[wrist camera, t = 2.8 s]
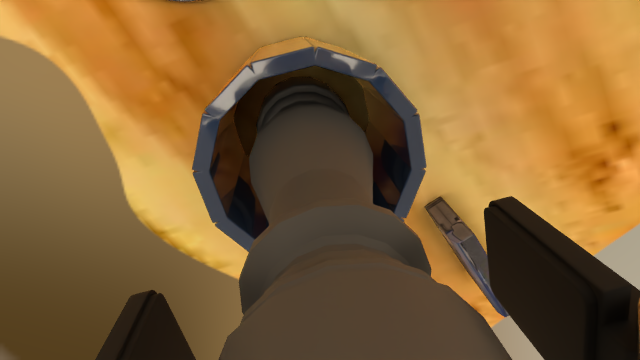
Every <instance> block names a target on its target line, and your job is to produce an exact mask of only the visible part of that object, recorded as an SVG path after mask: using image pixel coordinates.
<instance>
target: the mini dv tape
mask: <svg viewBox="0 0 640 360" xmlns="http://www.w3.org/2000/svg"><path fill="white" fill-rule="evenodd" d="M425 208H426V210H427V211H428V213H429V214H430V216H431V217H432V219H433V220H434V222H435V223H436V225H437V226H438V228H439V229H440V231H441V232H442V234H443V235H444V237H445V239H446V240H447V242H448V243H449V245H450V246H451V248H452V249H453V251H454V252H455V254H456V255H457V257H458V258H459V260H460V261H461V263H462V264H463V266H464V267H465V269H466V270H467V272H468V273H469V275H470V276H471V277H472V279H473V280H474V281H475V283H476V284H477V285H478V287H479V288H480V289H481V291H482V292H483V293H484V295H485V296H486V298H487V299H488V300H489V302H490V303H491V304H492V306H493V307H494V308H495V310H496V311H497V312H498V313H500V314H501V315H502V316H504V317H507V316H509V314H508V313H507V311H506V310H505V309H504V308H503V306H502V305H501V304H500V303H499V301H498V300H497V299H496V297H495V296H494V294H493V292H492V290H491V287H490V281H489V268H488V256H487V254H486V252H485V251H484V249H483V248H482V246H481V244H480V243H479V241H478V239H477V238H476V236H475V235H474V233H473V232H472V231H471V230H470V229H469V228H468V227H467V225H466V224H465V223H464V222H463V221H462V220H461V219H460V218H459V216H458V215H457V214H456V213H455V212H454V211H453V210H452V209H451V207H450V206H449V205H448V204H447V203H446V202H445V201H444V200H443V199H442V197H439V198H438V199H436V200H434V201H433V202H431V203H430V204H428V205H427V206H425Z"/></svg>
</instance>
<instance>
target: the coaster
mask: <svg viewBox="0 0 640 360" xmlns="http://www.w3.org/2000/svg"><path fill="white" fill-rule="evenodd" d="M168 1H174V2H197V1H202V0H168Z"/></svg>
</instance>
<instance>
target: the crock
mask: <svg viewBox="0 0 640 360" xmlns="http://www.w3.org/2000/svg"><path fill="white" fill-rule="evenodd" d="M311 66H318V67H321V68H325V69H328V70H332V71H335V72H338V73H342V74H345V75H348V76H352V77H354V78H355V79H356V80H357V81H358V82H359V83H360V84H361V86H362V87H363V92H364V97H365V102H366V107H367V112H368V118H369V122H368V125H367V128H366V131H365V135H366V137H367V140H368V143H369V145H370V148H371V150H372V153H373V204H374V205H377V206H380V207H383V208H386V209H389V210H391V211H392V212H393V213H394V214H395V215H396V216H397V217H398V218H399V219H401V220H402V221H403V222H404V219H403V218H406V217H407V215H408V213H409V210H410V208H411V206H412V203H413V201H414V198H415V196H416V194H417V191H418V189H419V186H420V184H421V182H422V179H423V177H424V174H425V172H426V170H425V169H424V168H426V159H425V152H424V144H423V137H422V130H421V122H420V115H419V114H418V113H416V112H417V109H416V108H415V107H414V105H413V104H412V103H411V102H410V101H409V100H408V98H407V97H406V96H405V95H404V94H403V92H402V91H401V90H400V89H399V88H398V87H397V85H396V84H395V83H394V82H393V81H392V80H391V78H390V77H389V76H388V75H387V74H386V73H385V71H384V70H383V69H382V68H381V67H379V66H377V65H376V64H375V63H373V62H371V61H369V60H366V59H364V58H362V57H360V56H358V55H356V54H354V53H352V52H350V51H348V50H346V49H344V48H341V47H337V46H334V45H331V44H328V43H325V42H321V41H318V40H315V39H312V38H308V37H304V38H303V37H297V38H293V39H289V40H285V41H281V42H278V43H274V44H270V45H266V46H262V47H261V48H260V49H258V50H257V51H256V52H255V53H254V54H253V55H252V56H251V57H250V58H249V59H248V60H247V61H246V62H245V63H244V65H243V66H242V67H241V68H240V69H239V70H238V71H237V72H236V73H235V74H234V75H233V76H232V77H231V78H230V80H229V81H228V82H227V83H226V84H225V86H224V87H223V88H222V89H221V90H220V92H219V93H218V94H217V95H216V96H215V97H214V99H213V100H212V101H211V102H210V103H209V105H208V106H207V107H206V108H205V111H204V112H203V114H202V118H201V123H200V129H199V134H198V140H197V145H196V150H195V156H194V161H193V167H192V170H194V172H193V176H194V178H195V181H196V183H197V186H198V188H199V191H200V193H201V196H202V198H203V200H204V203H205V205H206V208H207V210H208V213H209V215H210V218H211V220H212V222H213V223H215V222H216V224H215V226H216V227H217V228H219V229H220V230H221V231H222V232H224V233H225V234H226V235H228V236H229V237H230V238H231V239H233V240H234V241H235V242H237V243H238V244H239V245H240V246H242V247H243V248H244V249H246V250H247V251H248V252H249V251H250V248H251V246H252V243H253V241H254V240H255V239H256V238H257V237H258V236H259V235H260V234H261V233H262V232H263V231H264V230H265V229H266V228H267V227H268V226H269V222H268V220H267V218H266V215H265V213H264V211H263V208H262V206H261V204H260V201H259V199H258V197H257V195H256V192H255V190H254V188H253V186H252V184H251V177H250V165H249V157H248V156H247V155H246V154H245V153H244V150H243V147H242V144H241V141H240V138H239V135H238V132H237V129H236V126H235V123H234V115H235V111H236V106H237V102H238V101H239V100H240V99H241V98H242V97H243V96H244V95H245V94H246V93H247V92H248V91H249V90H250V89H251V88H252V87H253V86H254V85H255V84H256V82H257V81H258V80H261V79H265V78H269V77H273V76H277V75H280V74H284V73H288V72H292V71H296V70H300V69H303V68H307V67H311Z"/></svg>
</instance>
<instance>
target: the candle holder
mask: <svg viewBox="0 0 640 360" xmlns="http://www.w3.org/2000/svg"><path fill="white" fill-rule="evenodd" d="M256 126H257V137H256V139H255V142H254V145H253V148H252V151H251V154H250V157H249V165H250V177H251V184H252V186H253V188H254V190H255V192H256V195H257V197H258V199H259V201H260V204H261V206H262V208H263V211H264V213H265V215H266V218H267V220H268V222H269V226H268V227H267V228H266V229H265V230H264V231H263V232H262V233H261V234H260V235H259V236H258V237H257V238H256V239H255V240H254V241H253V243H252V246H251V248H250V251H249V254H248V256H247V259H246V261H245V264H244V267H243V269H242V272H241V274H240V278H239V286H240V296H241V305H242V313H243V314H244V316H243V319H242V321H241V324H240V326H239V327H238V328H237V329H235V330H234V331H233V332H232V333H231V334H230V335H229V336H228V337H227V340H226V342H225V345H224V348H223V350H222V353H221V355H220V357H219V360H512V359H511V357H510V356H509V354H508V353H507V351H506V350H505V348H504V347H503V345H502V344H501V342H500V341H499V339H498V338H497V336H496V335H495V333H494V332H493V330H492V329H491V327H490V326H489V324H488V323H487V322H486V320H485V319H484V317H483V316H482V315H481V314H479V313H478V312H477V311H476V310H475V309H474V308H473V307H471V306H470V305H469V304H468V303H467V302H466V301H465V300H463V299H462V298H461V297H460V296H459V295H458V294H457V293H456V292H454V291H453V290H452V289H451V288H450V287H449V286H447V285H443V284H440V283H437V282H436V281H435V280H434V279H432V278H431V267H430V264H429V261H428V259H427V256H426V253H425V251H424V248H423V245H422V243H421V240H420V238H419V237H418V235H417V234H416V233H415V232H414V231H413V230H411V229H410V228H409V227H408V226H407V225H406V224H405V223H404V222H403V221H402V220H401V219H399V218H398V217H397V216H396V215H395V214H394V213H393V212H392V211H391V210H389V209H386V208H383V207H380V206H377V205H374V204H373V153H372V150H371V148H370V145H369V143H368V140H367V137H366V135H365V133H364V131H363V130H362V129H361V128H360V127H359V126H358V125H357V124H356V123H355V122H354V121H353V120H352V119H351V118H350V116H349V113H348V111H347V108H346V106H345V104H344V103H343V101H342V100H341V99H340V97H339V96H338V95H337V94H336V93H335V92H334V91H333V90H332V89H331V88H330V87H329V86H328V85H327V84H326V83H324V82H322V81H319V80H317V79H314V78H312V77H292V78H289V79H287V80H285V81H283V82H281V83H278V84H276V85H275V86H274V88H273V89H272V90H271V91H270V92H269V93H268V94H267V95H266V96H265V98H264V101H263V103H262V106H261V109H260V112H259V116H258V120H257V124H256Z"/></svg>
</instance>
